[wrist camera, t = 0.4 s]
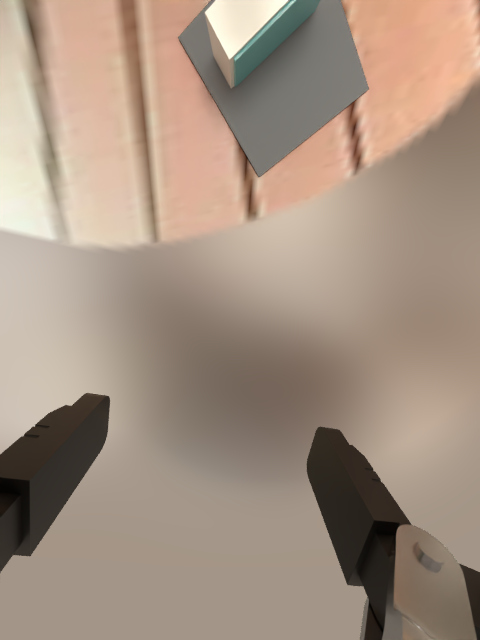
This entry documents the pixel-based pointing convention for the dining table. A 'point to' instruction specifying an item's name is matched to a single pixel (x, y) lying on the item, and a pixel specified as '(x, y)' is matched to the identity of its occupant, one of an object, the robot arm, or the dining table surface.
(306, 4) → the block
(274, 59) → the mat
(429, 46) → the dining table surface
